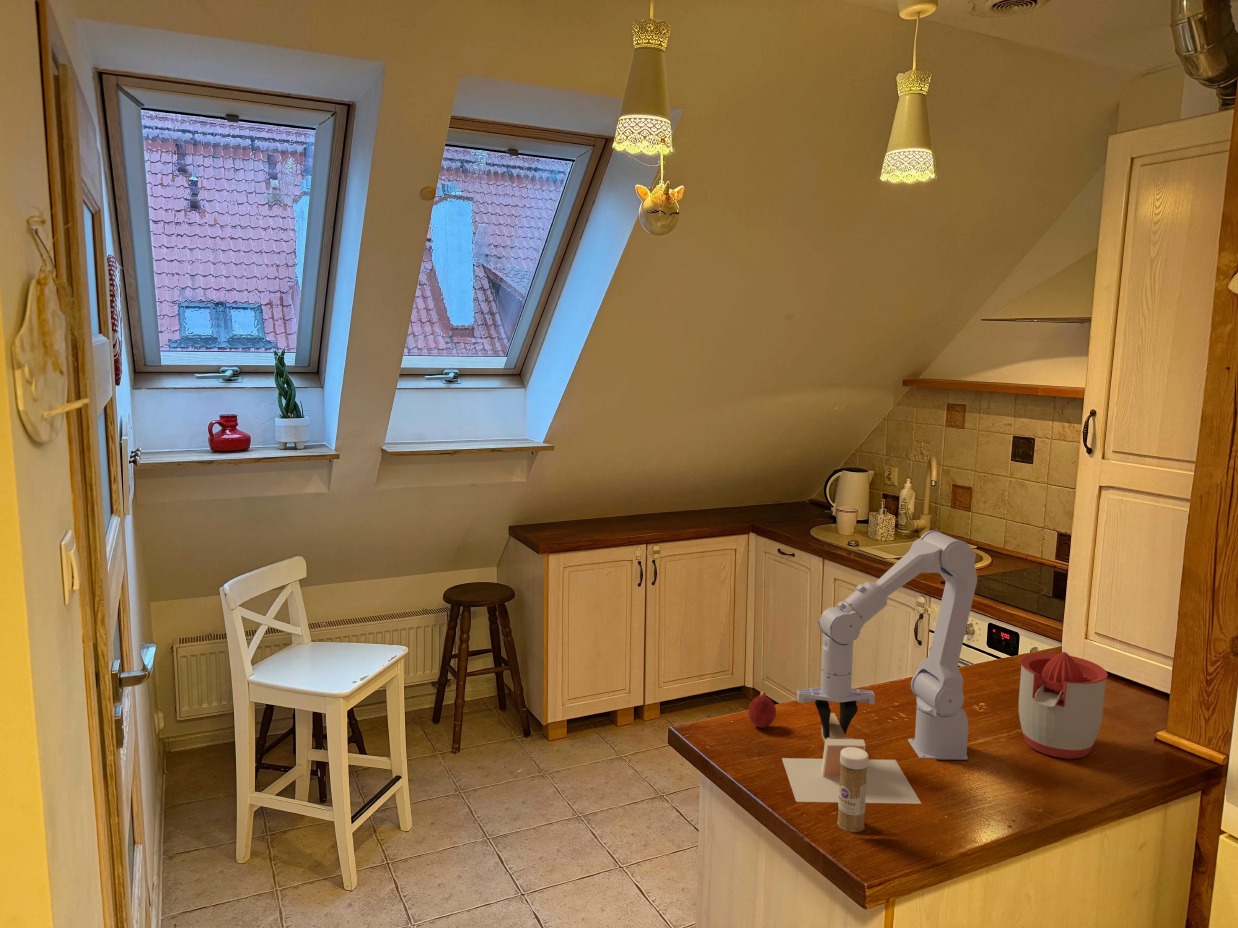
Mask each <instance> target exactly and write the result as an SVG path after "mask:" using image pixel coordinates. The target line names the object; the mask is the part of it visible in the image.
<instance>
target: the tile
mask: <svg viewBox="0 0 1238 928" xmlns="http://www.w3.org/2000/svg"><path fill="white" fill-rule="evenodd" d="M847 747H855V748H859V749H862V750H864V751H866V743H865V740H864V739H860V738H859V739H857V738H856V739H855V738H854V739H825V743H824V746H823V755H822V759H823V760H822V767H821V772H822V776H834V777H840V772H841V763H840V753H841V750H842V749H844V748H847Z"/></svg>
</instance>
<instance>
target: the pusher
mask: <svg viewBox="0 0 1238 928" xmlns="http://www.w3.org/2000/svg"><path fill="white" fill-rule="evenodd" d="M839 722H840V720H838V718H837V715H836V713H835V712H831V713H830V720H829V738H827V739H855V738H854V737H847V734H846V735H845V733H844V731H843V729H842V727H841V725H840V723H839ZM820 733H821V735H820V736H821V738H822V741H823V743H824V744H825V738H824V736H823V728H822V727H821V732H820Z"/></svg>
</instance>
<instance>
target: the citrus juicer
mask: <svg viewBox="0 0 1238 928" xmlns="http://www.w3.org/2000/svg"><path fill="white" fill-rule="evenodd" d="M1019 662H1020V667H1021V668H1020V681H1019V693H1018V695H1019V696H1018V716H1019V717H1018V718H1019V722H1020V727H1021V732H1022V735H1023V737H1024V742H1026V744H1027V745H1028V746H1029V747H1030V748H1031V749H1034V750H1036V751H1037V752H1039V753H1042V754H1044V755H1047V756H1050V757H1055V758H1060V759H1061V758H1062V759H1065V760H1073V759H1079V758H1083V757H1086V756H1087V755H1088V754H1089V753H1090V751H1092V748H1093V747H1094V745H1095V741H1096V740H1097V737H1098V736H1099V733H1100V729H1101V725H1102V720H1103V712H1104V701H1105V691H1106V690H1105V689H1106V681H1107V680H1106V679H1107V678H1108V676H1109V675H1108V672H1107V671H1106V669H1105V668H1104V667H1103V666H1101V665H1099V664H1097V663H1095V662H1093V661H1090V660H1089V659H1088V660H1087V659H1085V658H1081V657H1077V656H1073V655H1069V653H1067V652H1065V651H1062V652H1060V653H1051V652H1049V653H1048V652H1036V653H1031V654H1025V655H1024V656H1022V657H1021V658H1020V661H1019Z"/></svg>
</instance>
